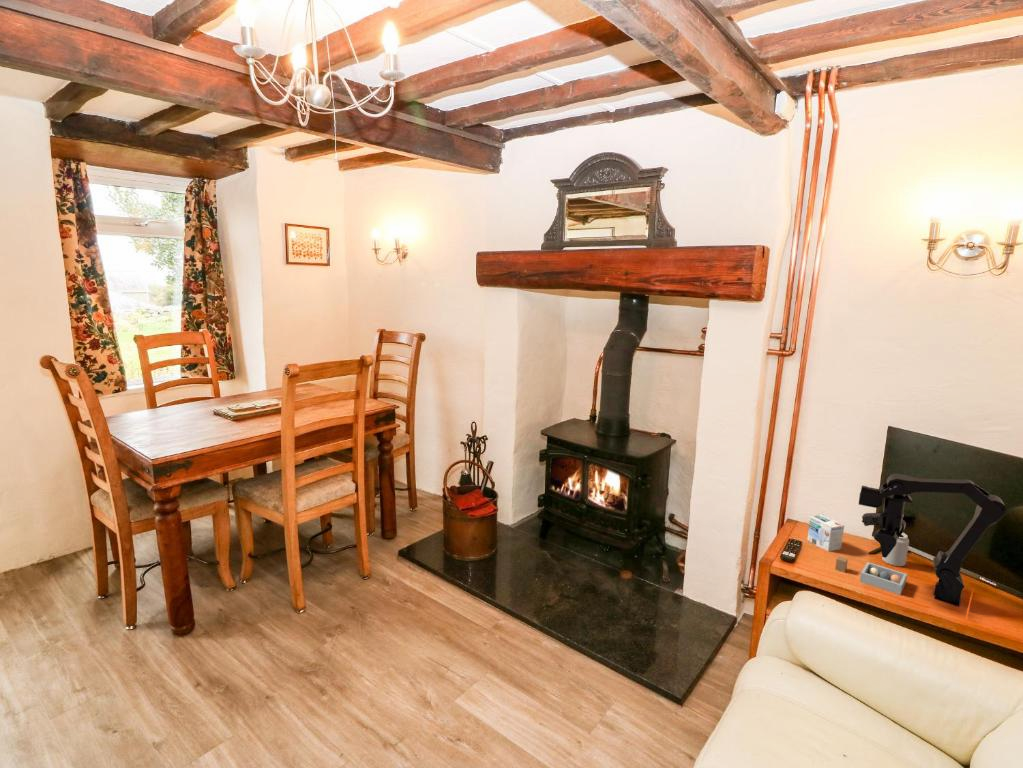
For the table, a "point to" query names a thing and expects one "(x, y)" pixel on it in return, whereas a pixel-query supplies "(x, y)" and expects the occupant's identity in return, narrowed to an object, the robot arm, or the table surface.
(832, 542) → the light bulb box
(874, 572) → the ball
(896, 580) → the ball
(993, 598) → the table surface
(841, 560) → the lid
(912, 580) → the table surface
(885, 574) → the ball
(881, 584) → the box
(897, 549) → the can
